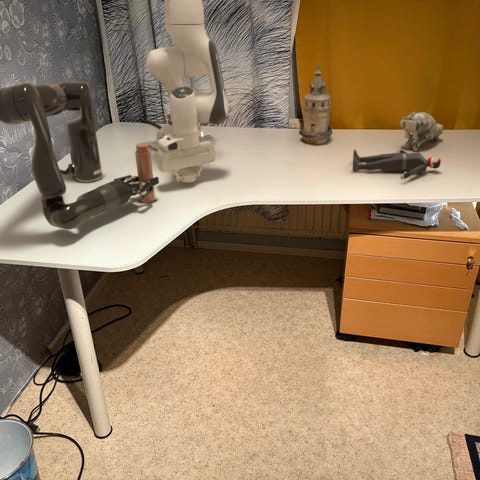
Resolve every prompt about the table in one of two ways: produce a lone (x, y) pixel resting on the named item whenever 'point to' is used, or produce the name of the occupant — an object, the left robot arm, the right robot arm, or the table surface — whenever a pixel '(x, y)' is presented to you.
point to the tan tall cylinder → (144, 168)
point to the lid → (188, 176)
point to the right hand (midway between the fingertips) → (188, 178)
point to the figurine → (420, 129)
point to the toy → (396, 162)
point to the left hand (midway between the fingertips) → (152, 178)
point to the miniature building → (316, 112)
